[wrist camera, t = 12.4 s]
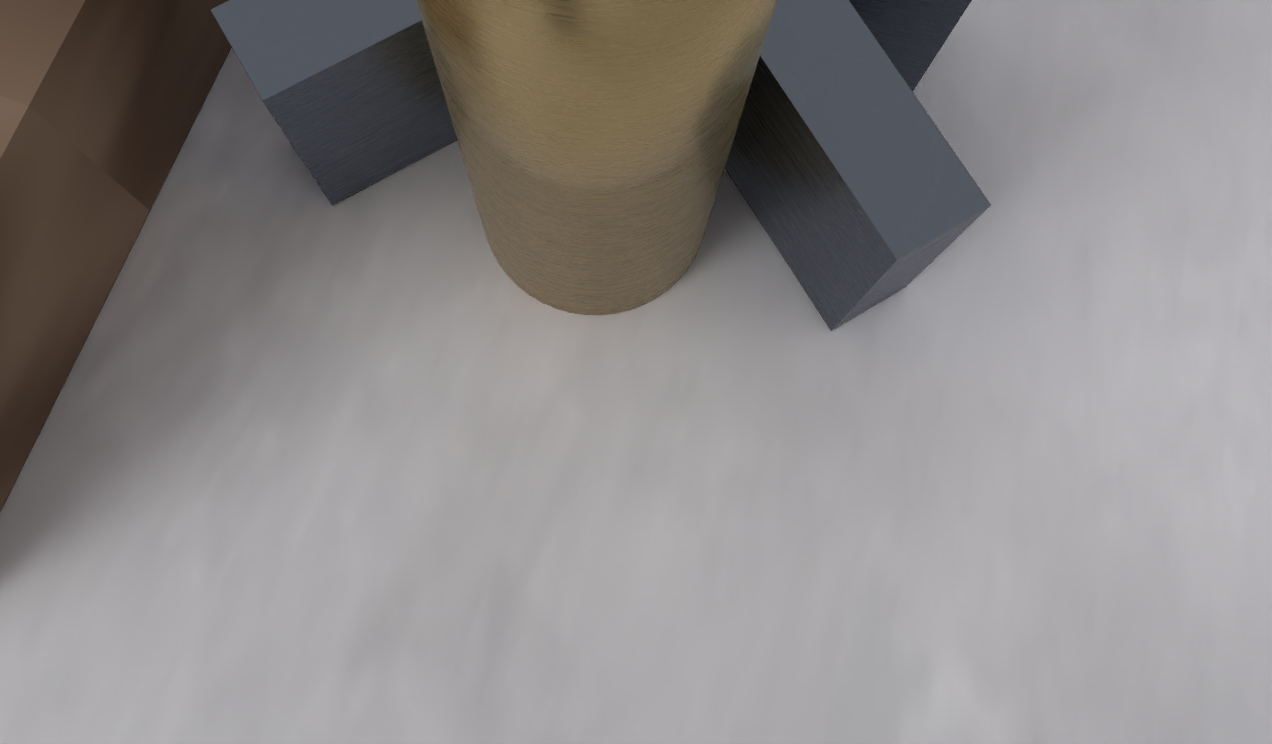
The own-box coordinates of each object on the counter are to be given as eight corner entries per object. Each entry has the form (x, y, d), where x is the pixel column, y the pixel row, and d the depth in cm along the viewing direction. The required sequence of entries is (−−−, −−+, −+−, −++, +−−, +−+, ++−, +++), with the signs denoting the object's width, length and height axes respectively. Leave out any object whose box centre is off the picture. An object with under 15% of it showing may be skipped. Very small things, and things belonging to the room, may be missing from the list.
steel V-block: (894, 346, 18) (977, 279, 14) (270, 189, 18) (183, 80, 14) (960, 14, 20) (1053, -130, 16) (381, -130, 20) (329, -309, 16)
